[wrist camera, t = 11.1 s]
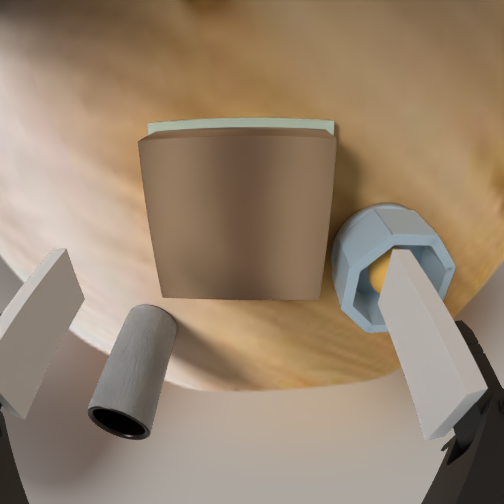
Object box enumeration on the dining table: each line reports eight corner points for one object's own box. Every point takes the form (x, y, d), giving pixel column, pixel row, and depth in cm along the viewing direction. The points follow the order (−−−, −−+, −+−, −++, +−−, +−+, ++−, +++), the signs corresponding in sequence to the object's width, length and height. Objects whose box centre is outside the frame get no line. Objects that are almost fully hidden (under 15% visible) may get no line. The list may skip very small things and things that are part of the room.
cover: (172, 271, 23) (162, 297, 20) (155, 131, 17) (137, 141, 15) (313, 272, 22) (319, 299, 20) (325, 129, 17) (336, 138, 15)
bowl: (324, 293, 24) (334, 334, 20) (336, 200, 20) (354, 231, 16) (411, 291, 24) (431, 328, 20) (435, 205, 20) (466, 235, 16)
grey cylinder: (128, 334, 27) (91, 428, 18) (128, 298, 25) (81, 399, 16) (174, 346, 28) (150, 446, 19) (180, 311, 25) (150, 420, 17)
